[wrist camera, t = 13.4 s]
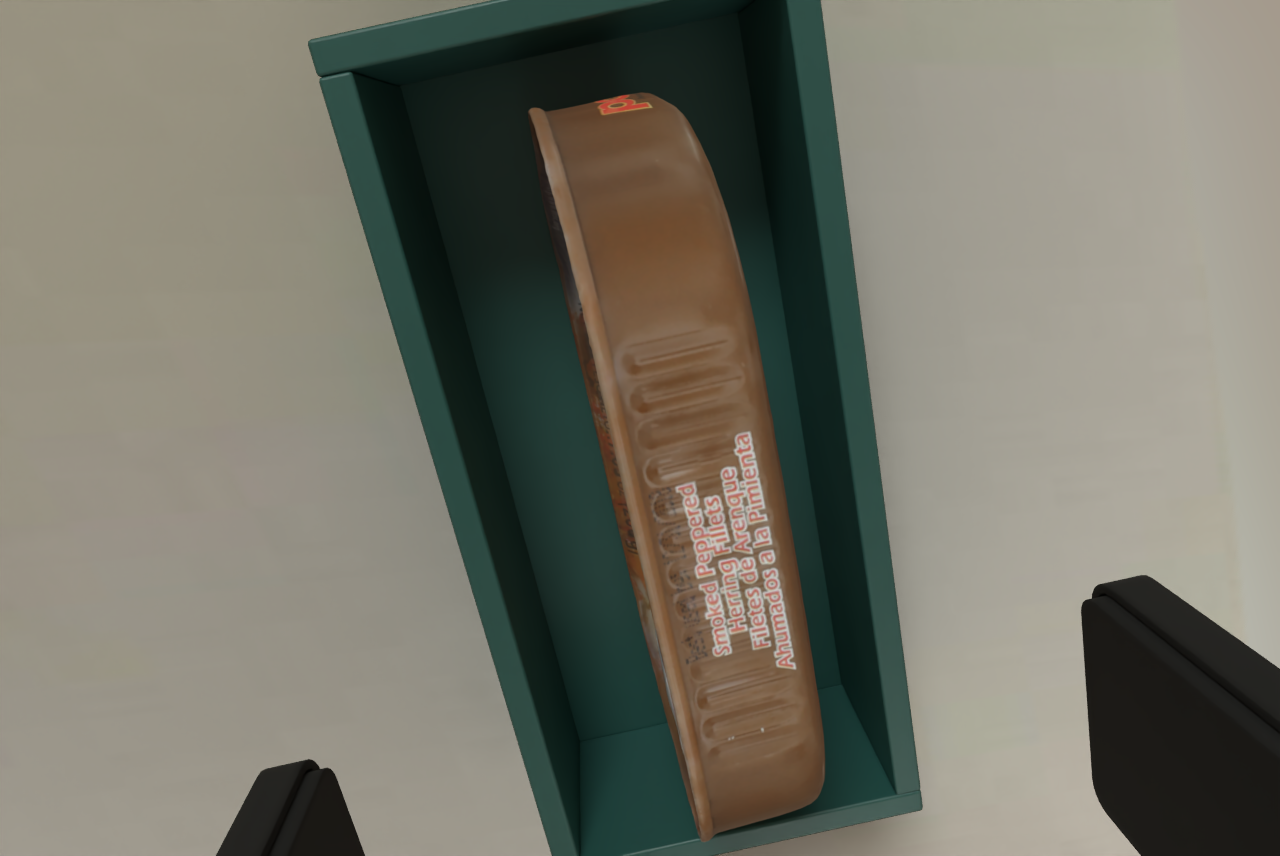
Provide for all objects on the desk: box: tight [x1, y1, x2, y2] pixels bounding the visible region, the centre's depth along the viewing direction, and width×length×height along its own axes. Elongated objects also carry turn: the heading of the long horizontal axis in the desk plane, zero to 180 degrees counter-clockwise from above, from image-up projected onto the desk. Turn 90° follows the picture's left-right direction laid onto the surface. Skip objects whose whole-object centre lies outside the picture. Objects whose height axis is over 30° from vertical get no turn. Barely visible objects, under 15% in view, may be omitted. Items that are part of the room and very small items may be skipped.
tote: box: [308, 0, 923, 856], centre depth 20 cm, size 19×9×5 cm, turn 12°
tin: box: [528, 93, 825, 842], centre depth 18 cm, size 15×3×8 cm, turn 12°
